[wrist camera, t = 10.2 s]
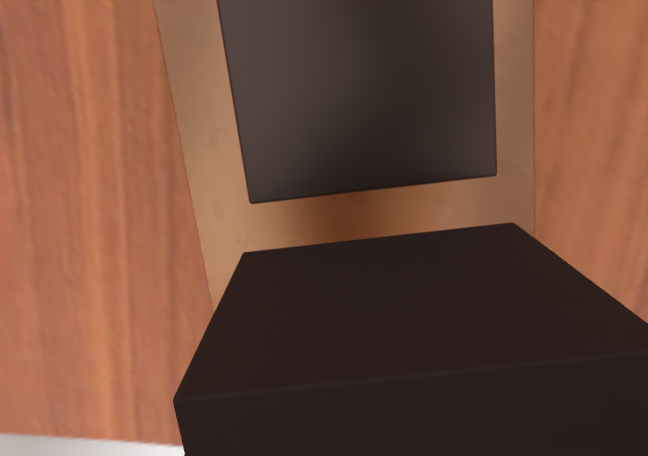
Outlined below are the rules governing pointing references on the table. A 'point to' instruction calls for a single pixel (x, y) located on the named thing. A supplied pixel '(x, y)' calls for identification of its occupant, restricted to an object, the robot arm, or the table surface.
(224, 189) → the board
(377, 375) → the black cube
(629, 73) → the table surface
